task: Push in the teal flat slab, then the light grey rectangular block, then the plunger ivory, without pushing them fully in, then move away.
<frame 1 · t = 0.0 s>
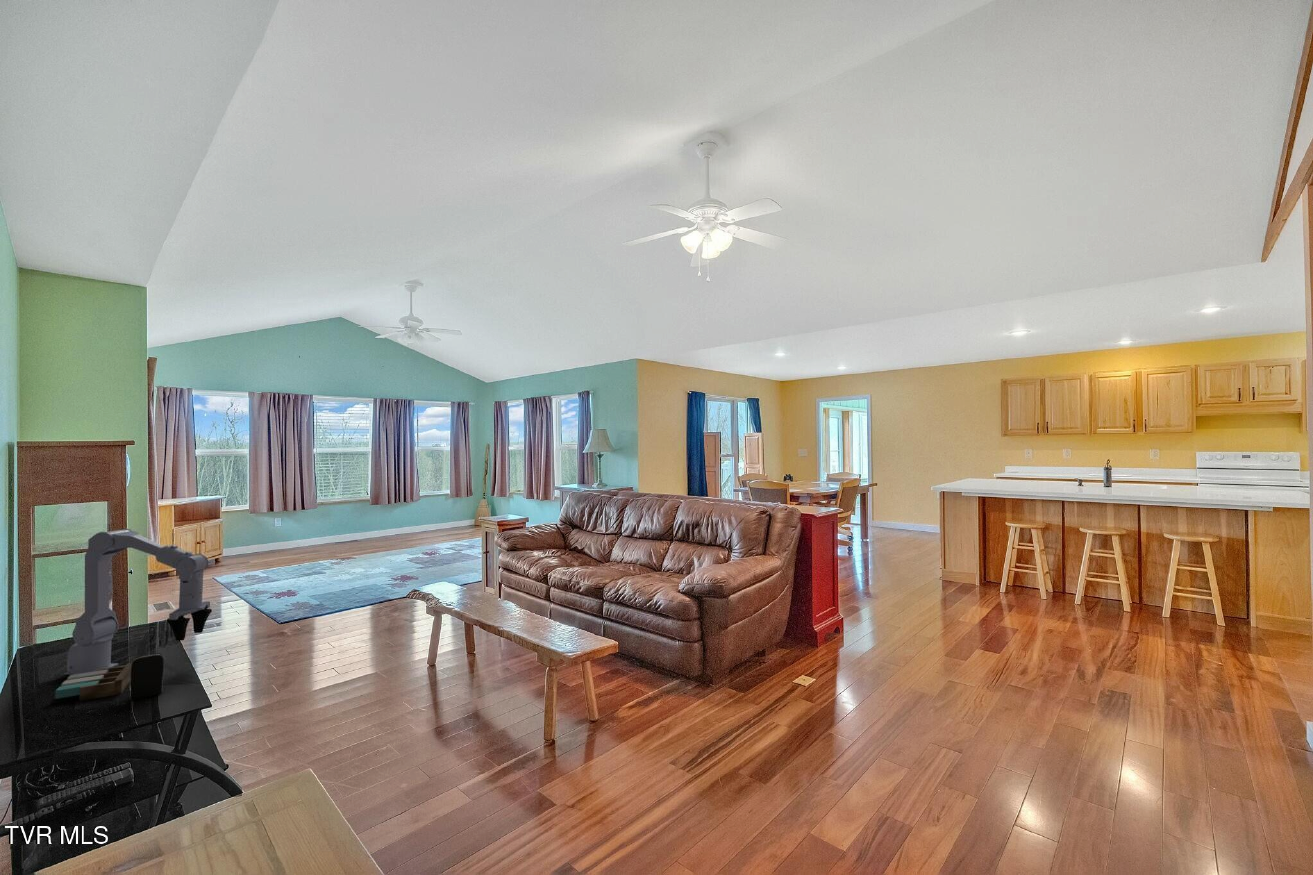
hand: (189, 636, 179), 10 cm above the table, fingers open, 7 cm apart
plunger ivory: (82, 683, 160), point 2 cm above the table, slide at 0.0 cm
teal flat slab: (77, 689, 156), point 2 cm above the table, slide at 0.0 cm
walnut key block: (106, 687, 163), on the table
light grey rectangular block: (87, 677, 164), point 2 cm above the table, slide at 0.0 cm
battery charger: (146, 696, 158), on the table
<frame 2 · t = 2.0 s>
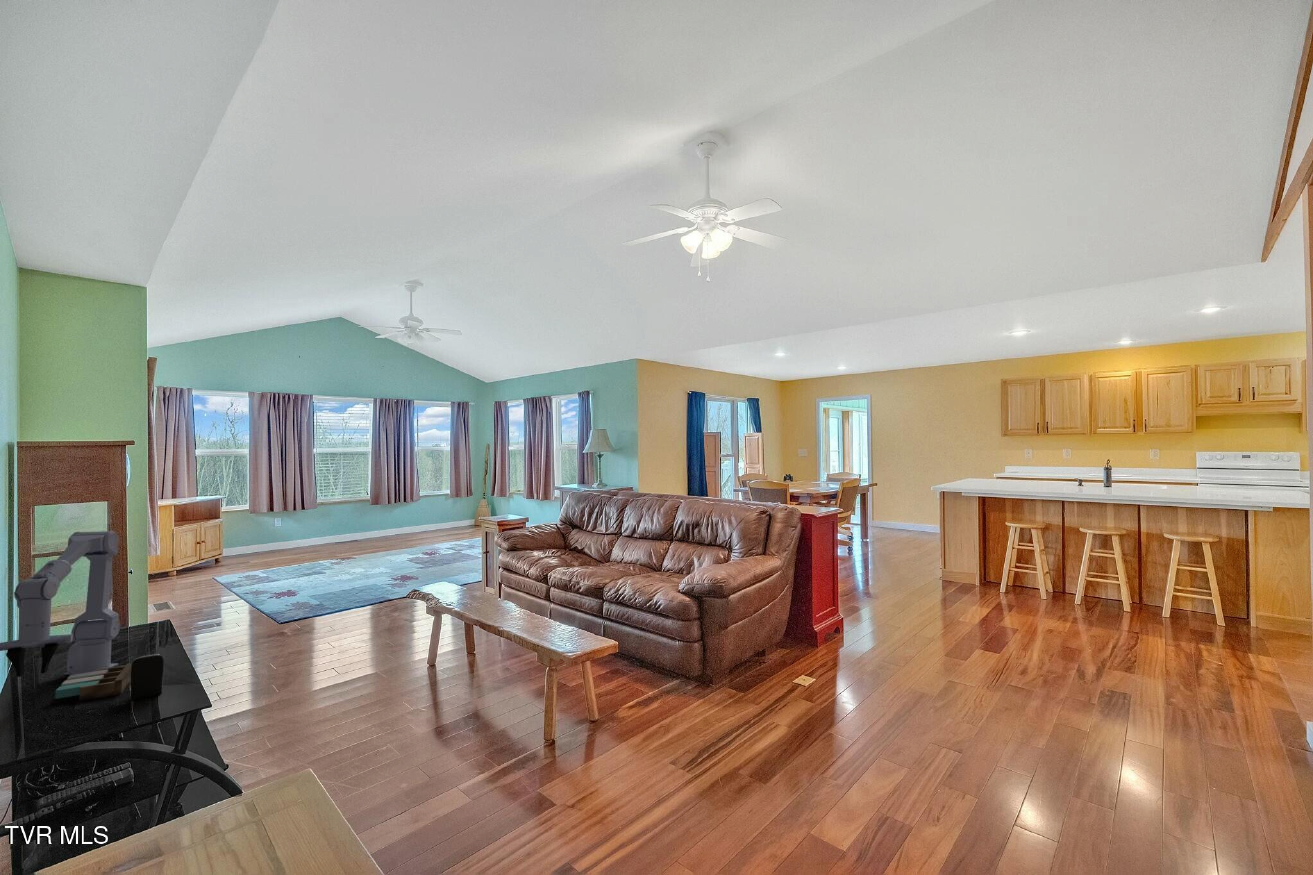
hand: (32, 673, 151), 8 cm above the table, fingers open, 4 cm apart
nothing on the table moved.
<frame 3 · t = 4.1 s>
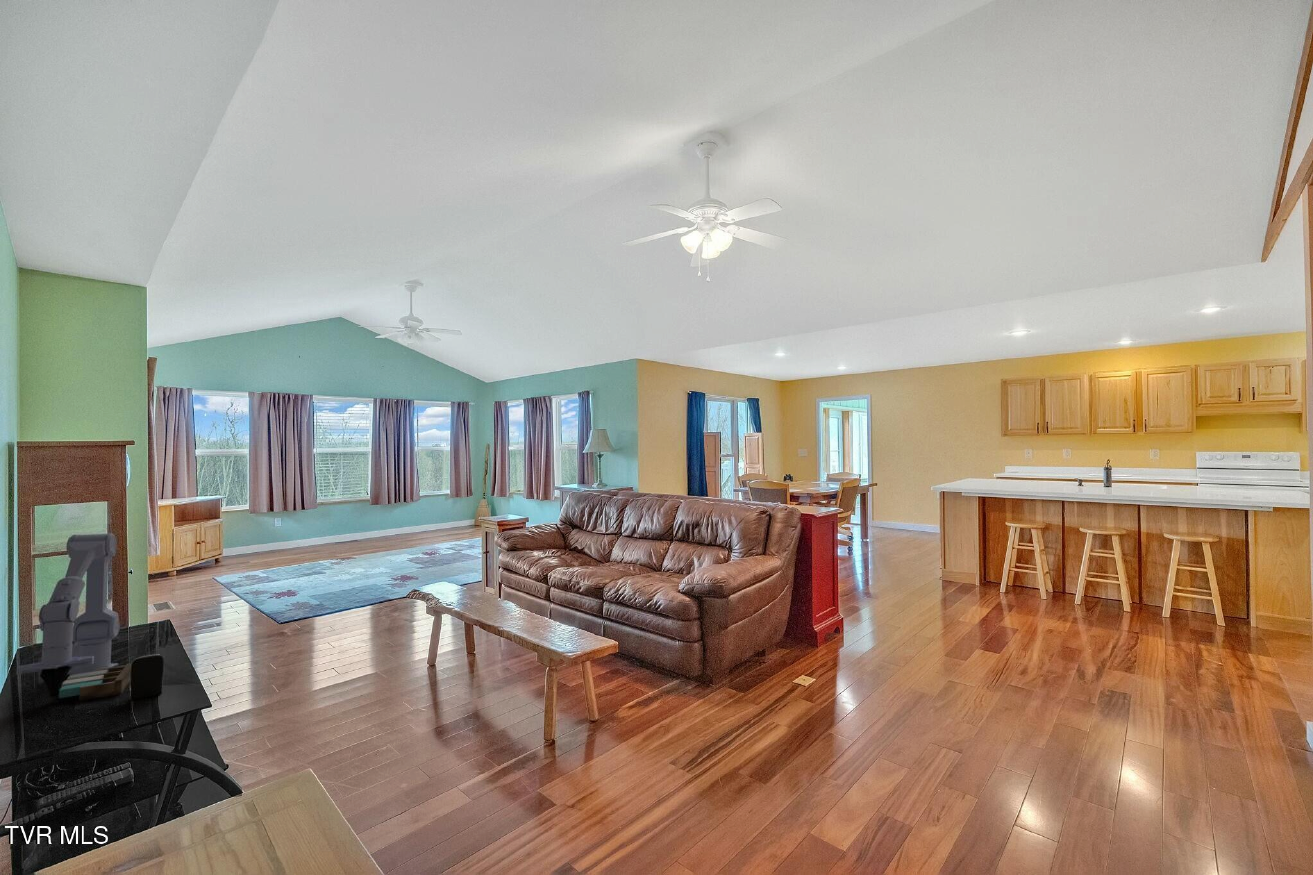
hand: (55, 695, 154), 2 cm above the table, fingers closed
teal flat slab: (81, 688, 157), point 2 cm above the table, slide at 0.7 cm, touching gripper
everything else where it was.
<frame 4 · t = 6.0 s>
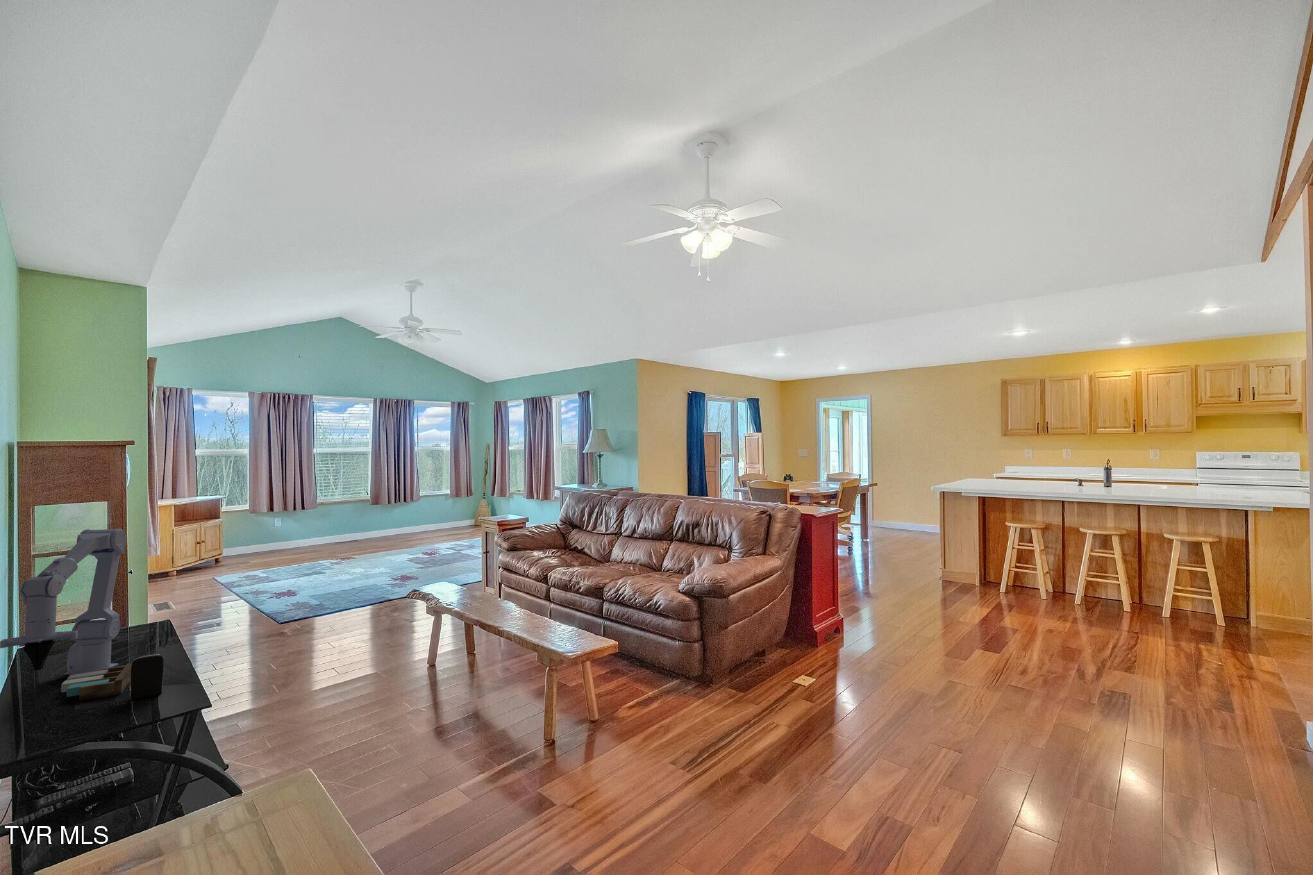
hand: (38, 669, 155), 8 cm above the table, fingers closed
teal flat slab: (88, 687, 157), point 2 cm above the table, slide at 2.2 cm
everything else where it was.
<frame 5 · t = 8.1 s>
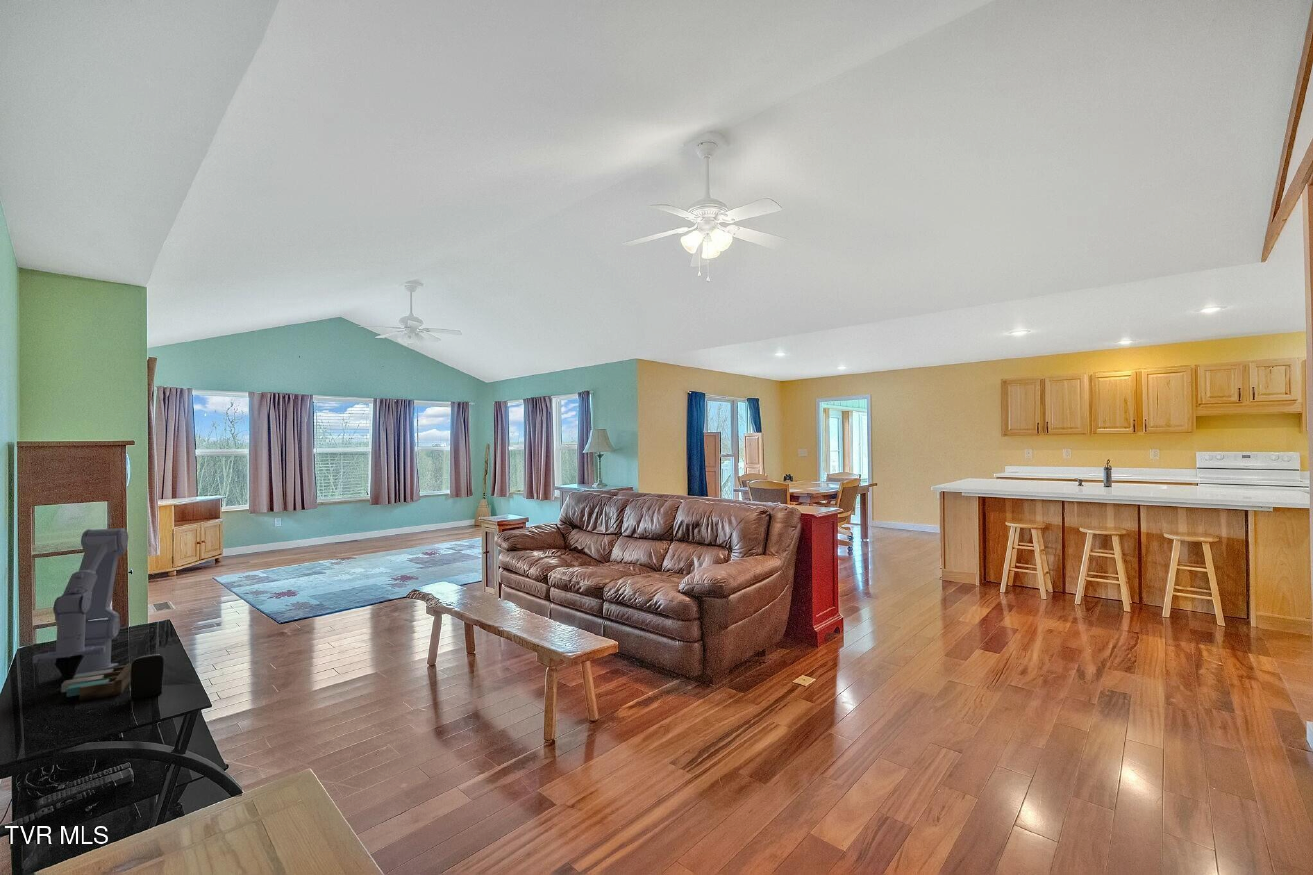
hand: (68, 683, 162), 2 cm above the table, fingers closed
light grey rectangular block: (93, 676, 165), point 2 cm above the table, slide at 1.2 cm, touching gripper
everything else where it was.
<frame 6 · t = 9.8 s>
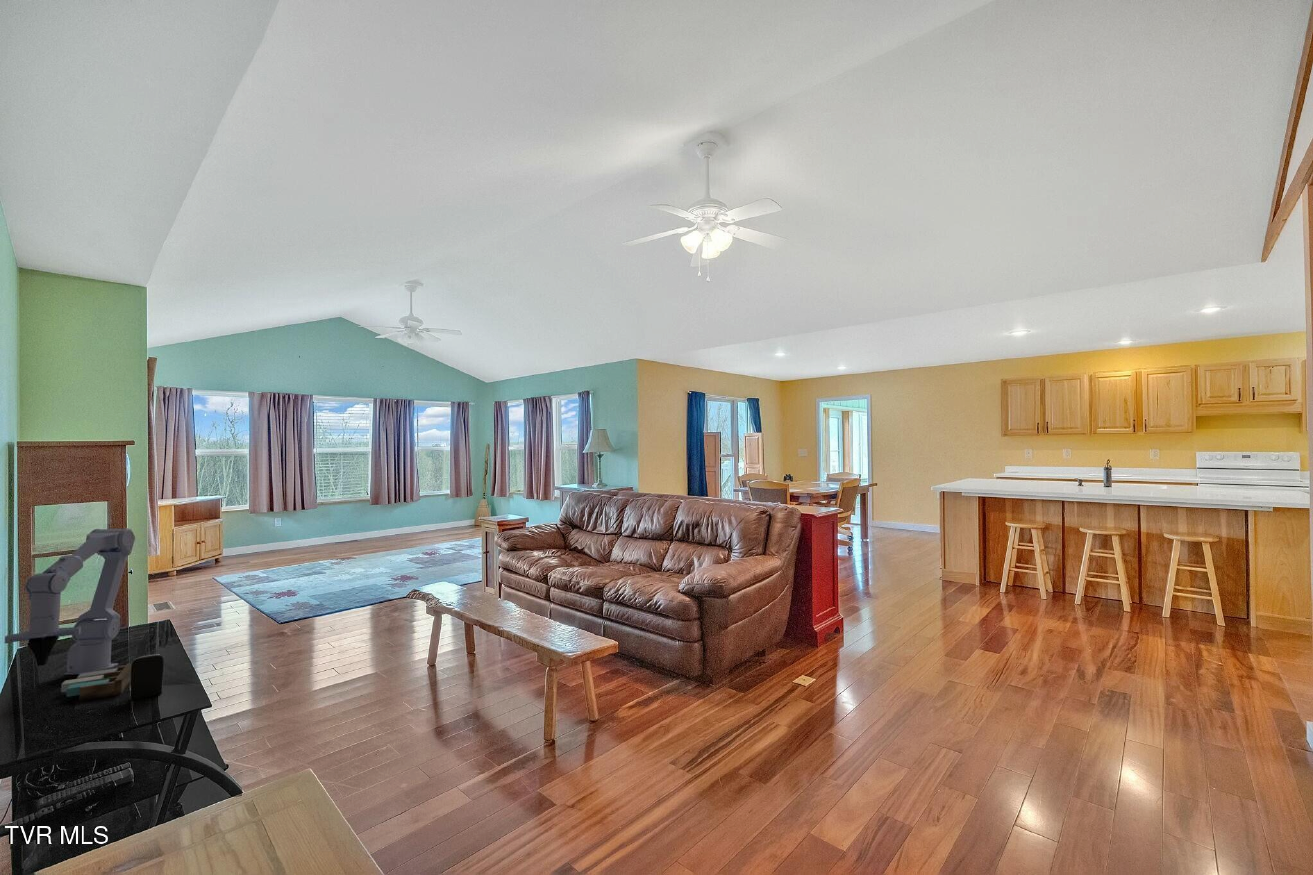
hand: (42, 664, 158), 9 cm above the table, fingers closed
light grey rectangular block: (97, 676, 166), point 2 cm above the table, slide at 2.1 cm
everything else where it was.
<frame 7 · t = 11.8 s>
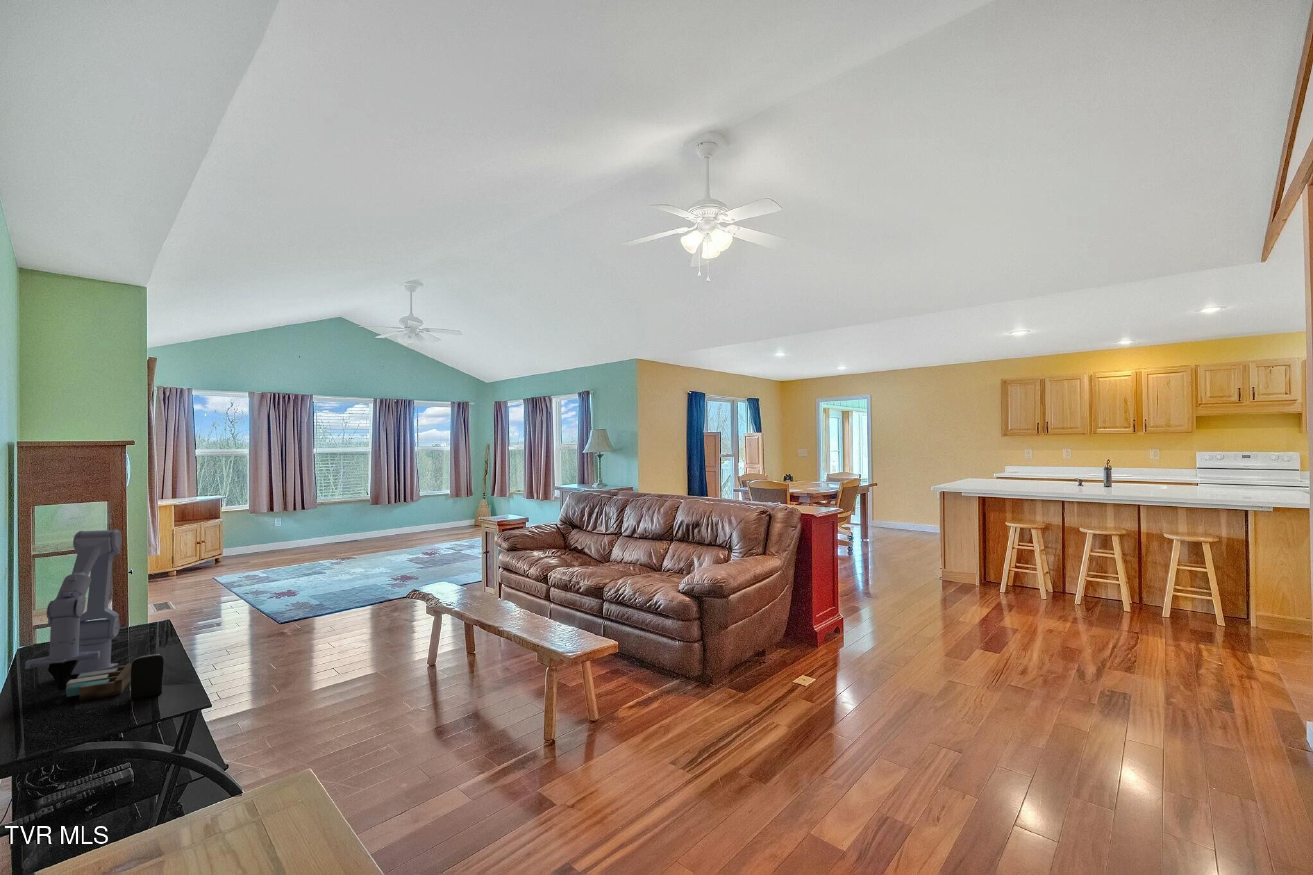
hand: (62, 689, 158), 2 cm above the table, fingers closed
plunger ivory: (87, 682, 161), point 2 cm above the table, slide at 1.0 cm, touching gripper
everything else where it was.
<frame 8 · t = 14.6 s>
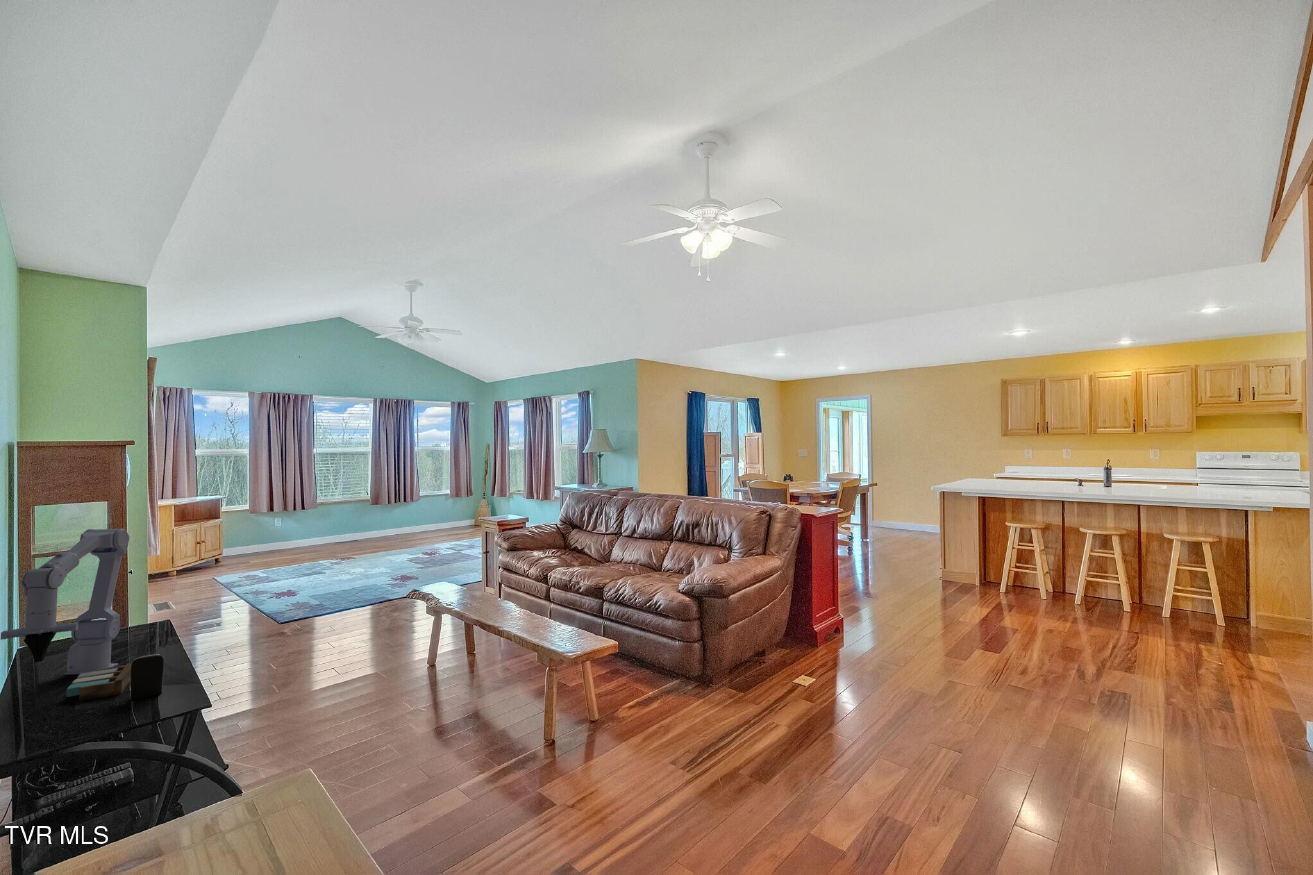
hand: (39, 660, 156), 10 cm above the table, fingers closed
plunger ivory: (93, 681, 161), point 2 cm above the table, slide at 2.1 cm
everything else where it was.
at the end: teal flat slab slide at 2.2 cm; light grey rectangular block slide at 2.1 cm; plunger ivory slide at 2.1 cm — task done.
